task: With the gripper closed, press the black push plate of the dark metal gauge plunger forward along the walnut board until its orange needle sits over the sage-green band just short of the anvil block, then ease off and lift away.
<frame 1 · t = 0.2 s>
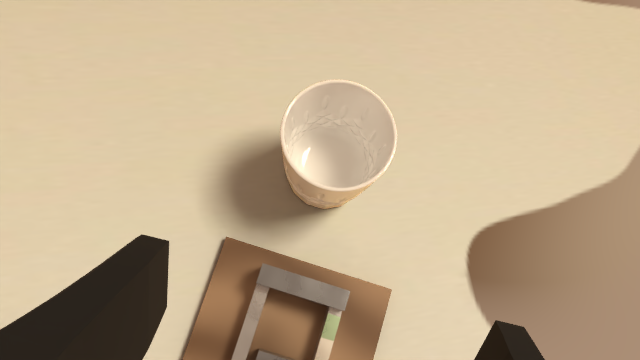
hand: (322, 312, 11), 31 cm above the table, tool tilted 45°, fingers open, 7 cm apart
gauge body: (289, 327, 38), on the walnut board, point 2 cm above the table
white cup: (325, 171, 44), on the table
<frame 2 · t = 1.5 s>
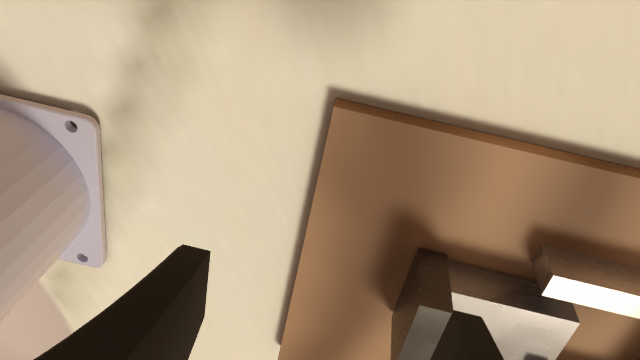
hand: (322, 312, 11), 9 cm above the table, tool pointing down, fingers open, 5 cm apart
gauge body: (611, 357, 20), on the walnut board, point 2 cm above the table
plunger: (472, 345, 20), point 3 cm above the table, slide at 0.0 cm
walnut board: (505, 291, 22), on the table
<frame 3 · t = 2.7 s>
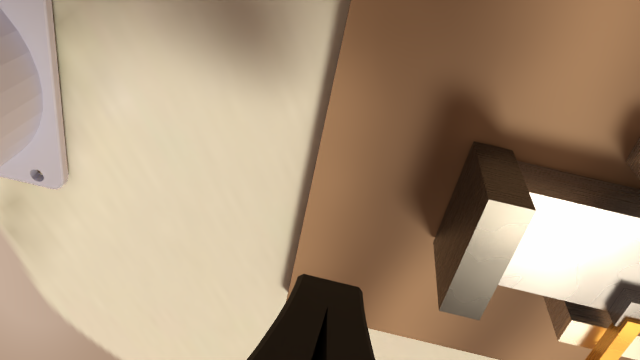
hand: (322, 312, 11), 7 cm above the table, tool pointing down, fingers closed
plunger: (546, 272, 15), point 3 cm above the table, slide at 0.0 cm
walnut board: (580, 209, 17), on the table
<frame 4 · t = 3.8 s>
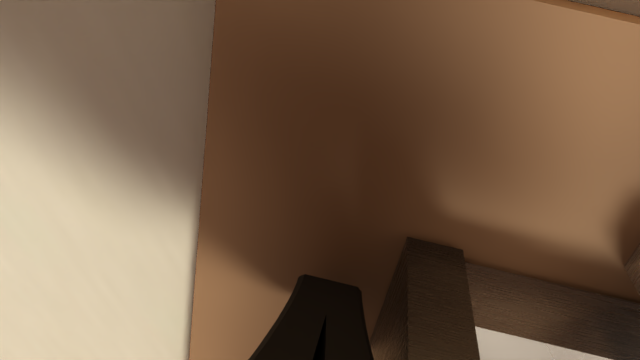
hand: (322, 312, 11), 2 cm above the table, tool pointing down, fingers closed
walnut board: (562, 316, 13), on the table
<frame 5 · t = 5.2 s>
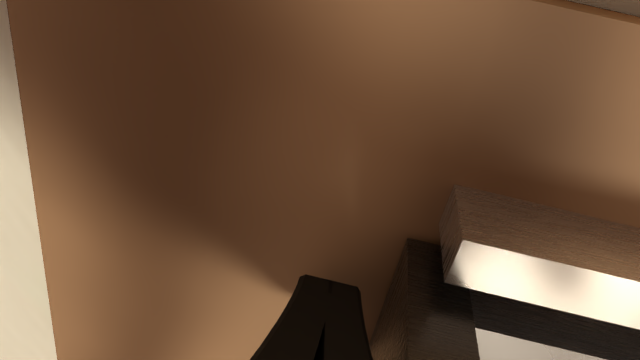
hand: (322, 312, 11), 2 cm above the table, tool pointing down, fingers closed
walnut board: (406, 279, 13), on the table
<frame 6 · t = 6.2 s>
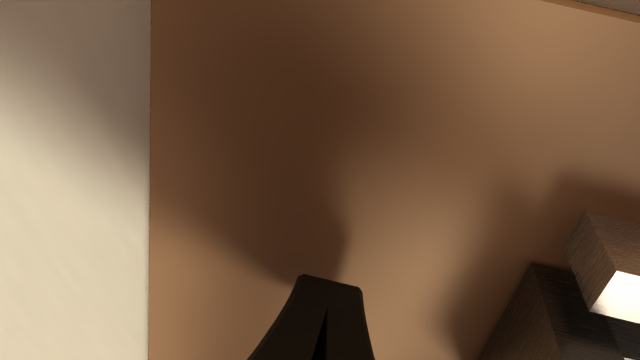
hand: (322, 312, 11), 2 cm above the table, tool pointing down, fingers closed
walnut board: (512, 300, 13), on the table
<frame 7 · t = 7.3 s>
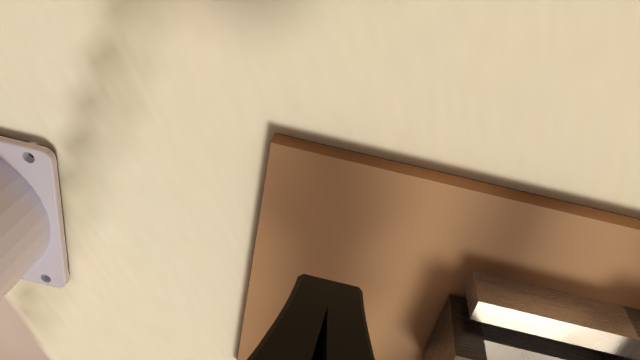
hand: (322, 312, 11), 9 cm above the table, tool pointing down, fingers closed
walnut board: (445, 312, 23), on the table
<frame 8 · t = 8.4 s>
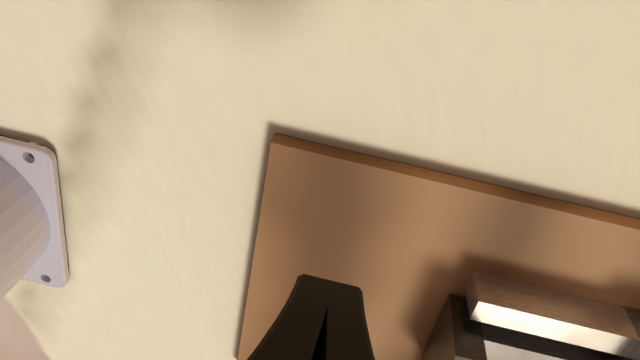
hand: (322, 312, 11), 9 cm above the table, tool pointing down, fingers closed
walnut board: (445, 312, 23), on the table
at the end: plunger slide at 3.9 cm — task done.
